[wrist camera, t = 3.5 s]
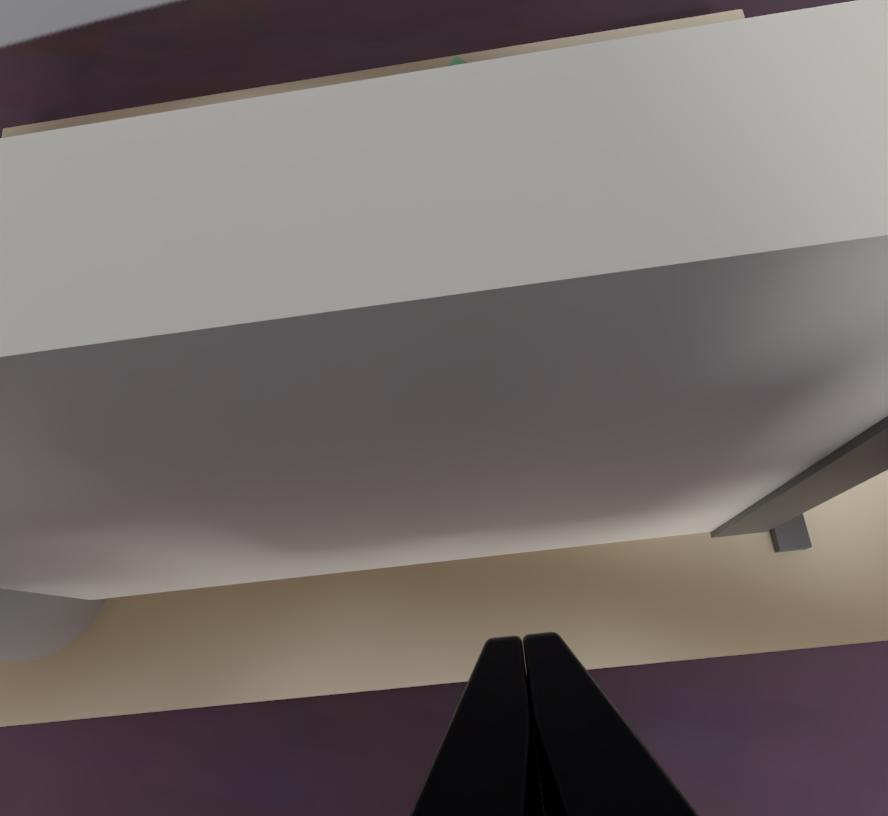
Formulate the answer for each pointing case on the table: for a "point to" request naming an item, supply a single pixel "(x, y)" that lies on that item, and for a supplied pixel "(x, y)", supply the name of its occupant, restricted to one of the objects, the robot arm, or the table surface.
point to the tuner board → (467, 582)
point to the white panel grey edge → (444, 315)
